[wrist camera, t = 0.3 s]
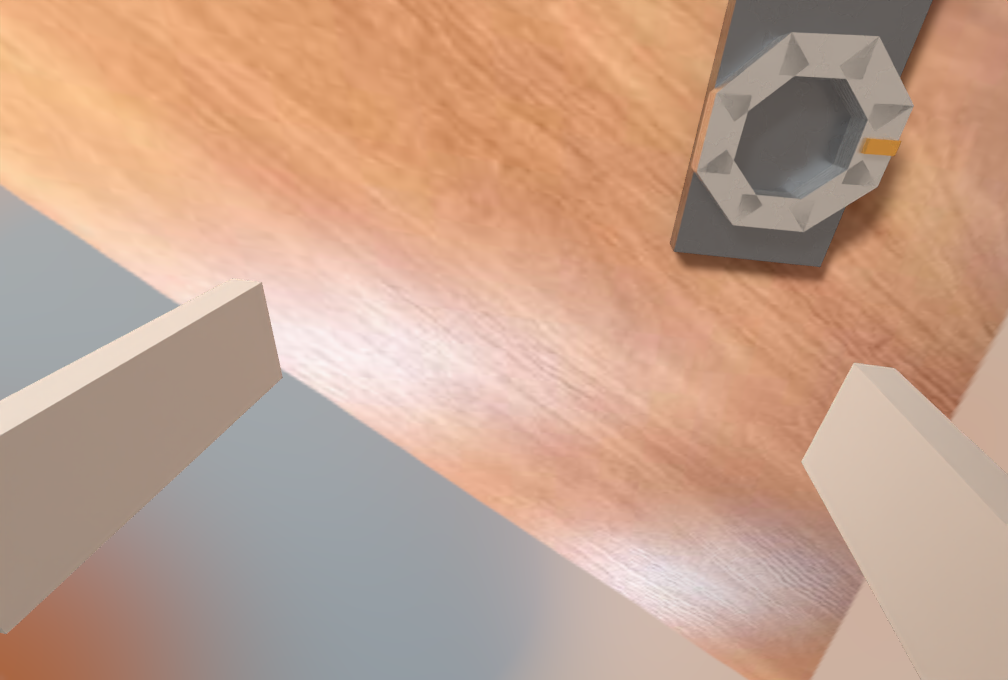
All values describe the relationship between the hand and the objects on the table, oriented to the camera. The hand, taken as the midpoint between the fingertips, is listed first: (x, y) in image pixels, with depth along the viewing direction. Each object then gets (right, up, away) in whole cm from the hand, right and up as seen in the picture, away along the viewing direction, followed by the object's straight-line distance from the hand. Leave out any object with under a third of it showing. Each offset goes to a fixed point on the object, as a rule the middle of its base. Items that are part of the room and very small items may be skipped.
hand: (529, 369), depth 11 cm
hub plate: (+18, +16, +19) cm, 30 cm away
